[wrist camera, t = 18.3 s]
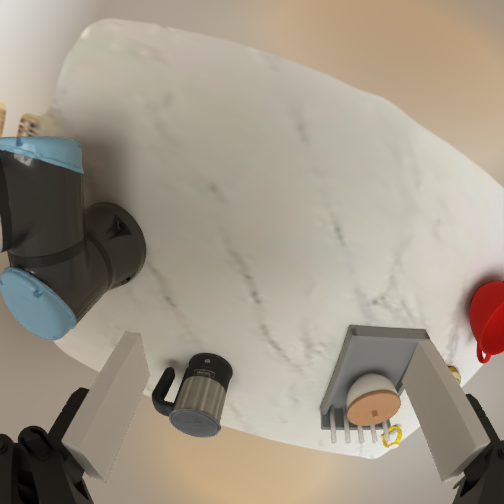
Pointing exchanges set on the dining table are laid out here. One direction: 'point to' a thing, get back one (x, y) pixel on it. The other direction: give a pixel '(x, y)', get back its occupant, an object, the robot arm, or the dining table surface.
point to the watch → (396, 443)
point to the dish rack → (367, 372)
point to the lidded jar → (372, 400)
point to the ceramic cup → (488, 319)
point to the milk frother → (196, 395)
